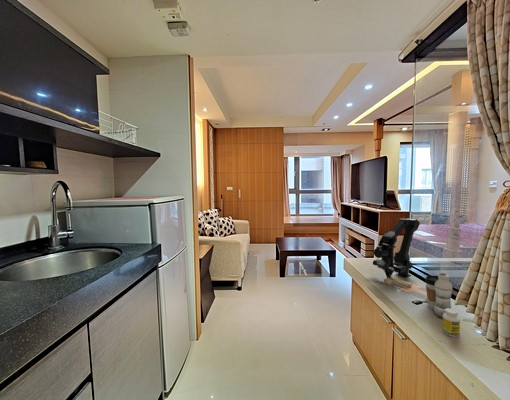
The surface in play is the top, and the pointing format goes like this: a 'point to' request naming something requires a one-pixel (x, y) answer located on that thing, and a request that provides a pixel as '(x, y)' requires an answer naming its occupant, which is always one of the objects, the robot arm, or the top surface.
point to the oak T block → (397, 281)
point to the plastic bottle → (442, 294)
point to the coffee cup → (431, 290)
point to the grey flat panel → (410, 289)
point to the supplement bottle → (451, 322)
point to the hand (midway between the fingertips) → (388, 278)
